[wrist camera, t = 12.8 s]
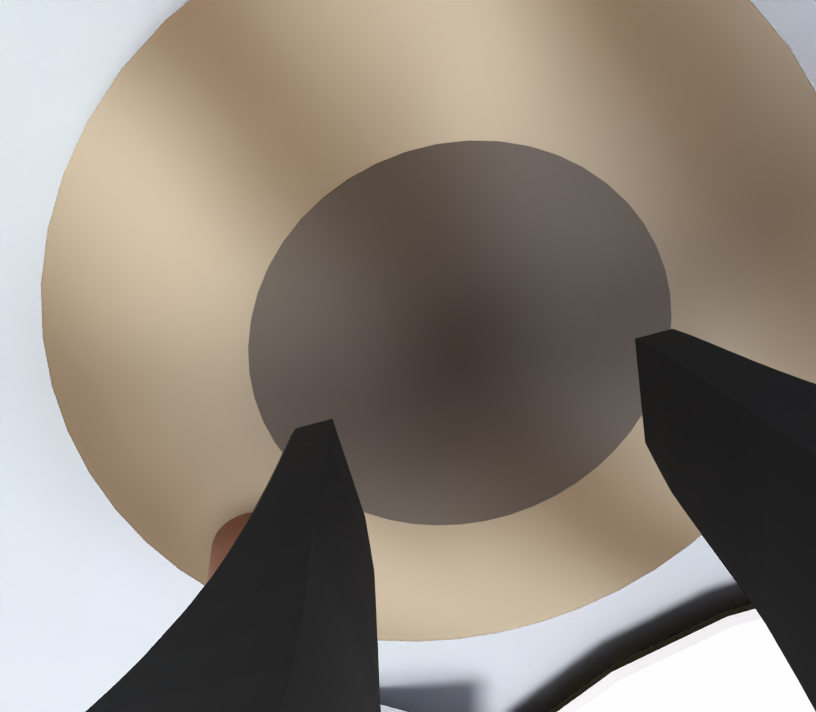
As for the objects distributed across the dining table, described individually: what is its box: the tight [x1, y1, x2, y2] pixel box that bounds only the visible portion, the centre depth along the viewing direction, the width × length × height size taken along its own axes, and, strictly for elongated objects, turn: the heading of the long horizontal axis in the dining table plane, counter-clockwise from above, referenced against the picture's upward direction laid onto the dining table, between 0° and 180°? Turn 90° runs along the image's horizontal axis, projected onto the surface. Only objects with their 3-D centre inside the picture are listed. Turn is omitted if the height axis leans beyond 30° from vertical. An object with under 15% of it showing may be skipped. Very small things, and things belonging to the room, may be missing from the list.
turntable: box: [41, 0, 816, 642], centre depth 14 cm, size 15×15×4 cm
